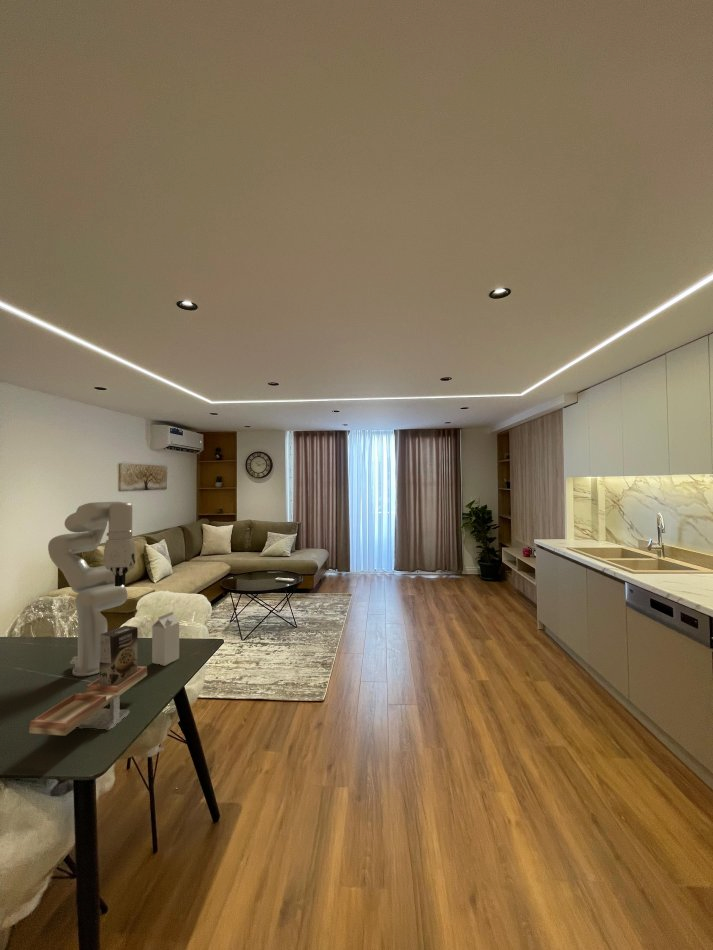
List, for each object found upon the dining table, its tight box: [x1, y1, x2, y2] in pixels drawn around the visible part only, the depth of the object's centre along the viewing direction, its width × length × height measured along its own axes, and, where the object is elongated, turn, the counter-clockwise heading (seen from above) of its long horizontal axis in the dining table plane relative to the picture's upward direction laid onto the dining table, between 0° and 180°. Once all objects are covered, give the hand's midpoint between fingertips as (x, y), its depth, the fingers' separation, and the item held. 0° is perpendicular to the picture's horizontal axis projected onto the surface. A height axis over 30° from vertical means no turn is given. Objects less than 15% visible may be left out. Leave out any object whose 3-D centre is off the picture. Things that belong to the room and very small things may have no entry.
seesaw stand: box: [77, 692, 130, 731], centre depth 115 cm, size 16×8×7 cm, turn 83°
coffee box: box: [98, 625, 139, 686], centre depth 124 cm, size 9×6×16 cm
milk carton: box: [151, 611, 180, 667], centre depth 154 cm, size 7×7×19 cm
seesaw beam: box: [28, 665, 148, 736], centre depth 115 cm, size 11×32×4 cm, turn 173°
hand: (120, 585), depth 139 cm, fingers closed
